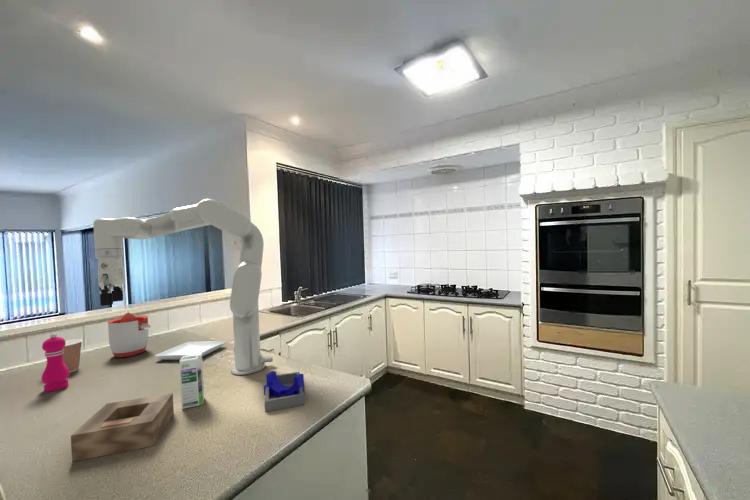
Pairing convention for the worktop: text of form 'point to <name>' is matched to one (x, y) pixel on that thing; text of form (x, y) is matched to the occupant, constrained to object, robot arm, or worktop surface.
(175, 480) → the worktop surface
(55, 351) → the pepper mill
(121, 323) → the citrus juicer
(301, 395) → the clip frame
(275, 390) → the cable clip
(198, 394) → the syrup box
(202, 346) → the salad plate
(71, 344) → the coffee cup
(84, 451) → the socket block
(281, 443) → the worktop surface
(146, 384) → the worktop surface
